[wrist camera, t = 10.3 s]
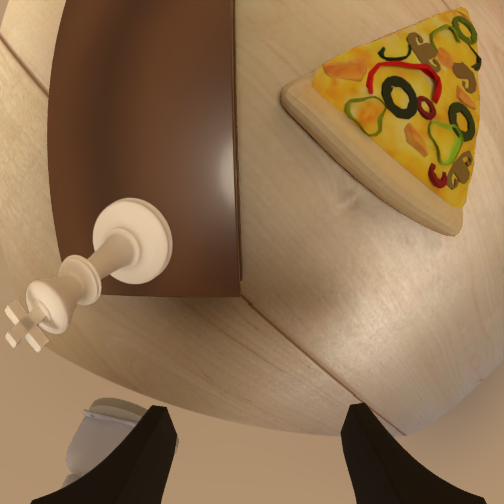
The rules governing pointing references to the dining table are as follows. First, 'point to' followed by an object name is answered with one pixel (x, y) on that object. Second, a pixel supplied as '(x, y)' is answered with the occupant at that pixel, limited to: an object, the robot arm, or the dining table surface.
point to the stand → (149, 134)
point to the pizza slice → (401, 116)
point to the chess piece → (95, 269)
